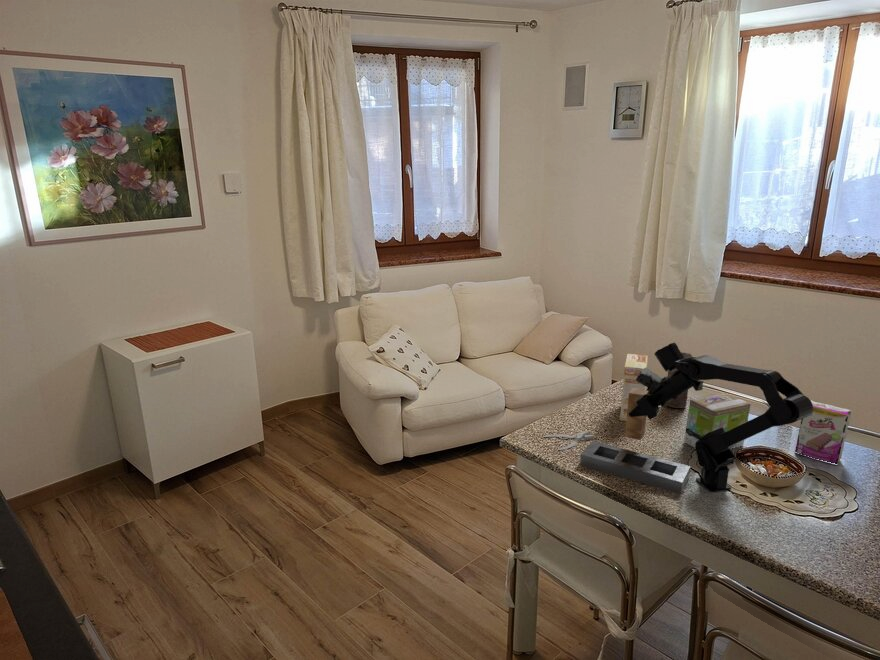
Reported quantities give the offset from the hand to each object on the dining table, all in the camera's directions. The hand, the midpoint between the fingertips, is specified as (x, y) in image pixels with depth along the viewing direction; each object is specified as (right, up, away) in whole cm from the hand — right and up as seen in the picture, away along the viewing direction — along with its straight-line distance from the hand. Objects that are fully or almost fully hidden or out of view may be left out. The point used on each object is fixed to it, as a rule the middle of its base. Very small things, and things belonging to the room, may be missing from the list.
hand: (632, 412), depth 174 cm
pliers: (-16, -11, +12) cm, 23 cm away
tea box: (+28, -11, +9) cm, 32 cm away
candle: (+27, -3, +36) cm, 45 cm away
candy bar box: (+55, -14, +1) cm, 57 cm away
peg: (+1, -7, +1) cm, 7 cm away
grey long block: (-2, -16, -6) cm, 17 cm away
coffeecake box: (+10, -5, +31) cm, 33 cm away
